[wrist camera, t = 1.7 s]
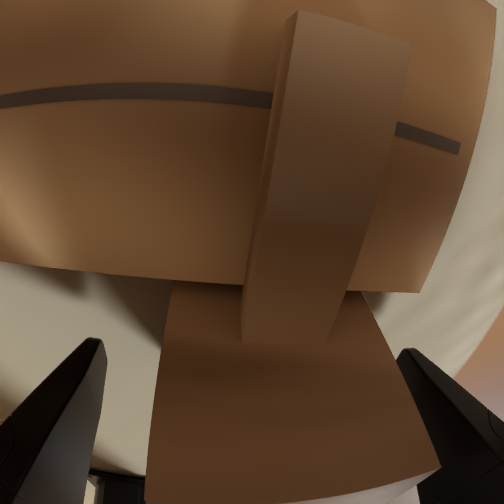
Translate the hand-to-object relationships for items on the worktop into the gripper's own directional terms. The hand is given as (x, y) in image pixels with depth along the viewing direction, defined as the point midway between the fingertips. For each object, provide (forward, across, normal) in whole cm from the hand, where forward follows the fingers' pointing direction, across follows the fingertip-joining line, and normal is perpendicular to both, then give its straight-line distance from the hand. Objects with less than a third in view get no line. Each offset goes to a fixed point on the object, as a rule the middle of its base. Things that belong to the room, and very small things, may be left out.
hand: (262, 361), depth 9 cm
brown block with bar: (+1, 0, -3) cm, 3 cm away
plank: (+1, +6, -6) cm, 9 cm away
